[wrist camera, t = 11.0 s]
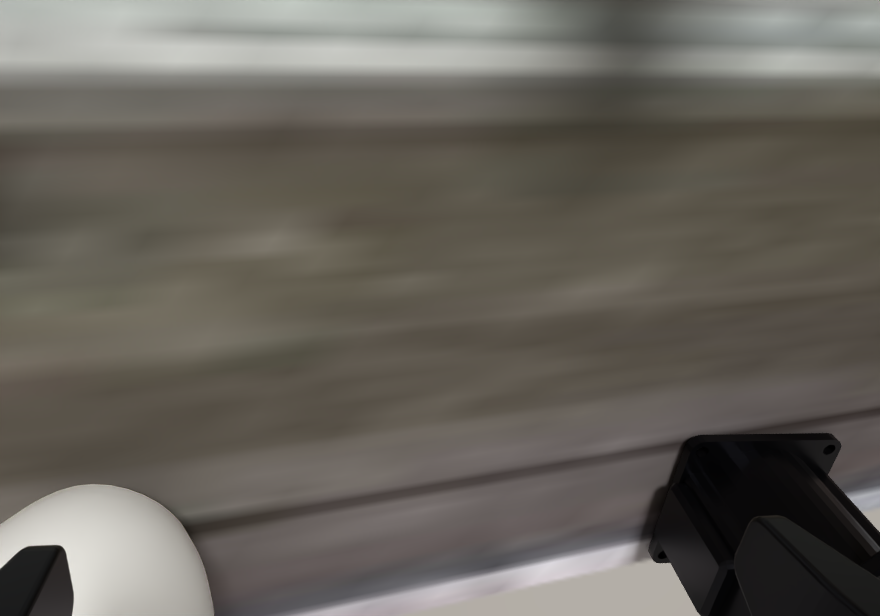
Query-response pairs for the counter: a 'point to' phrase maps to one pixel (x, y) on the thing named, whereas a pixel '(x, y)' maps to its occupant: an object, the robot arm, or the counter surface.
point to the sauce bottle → (115, 551)
